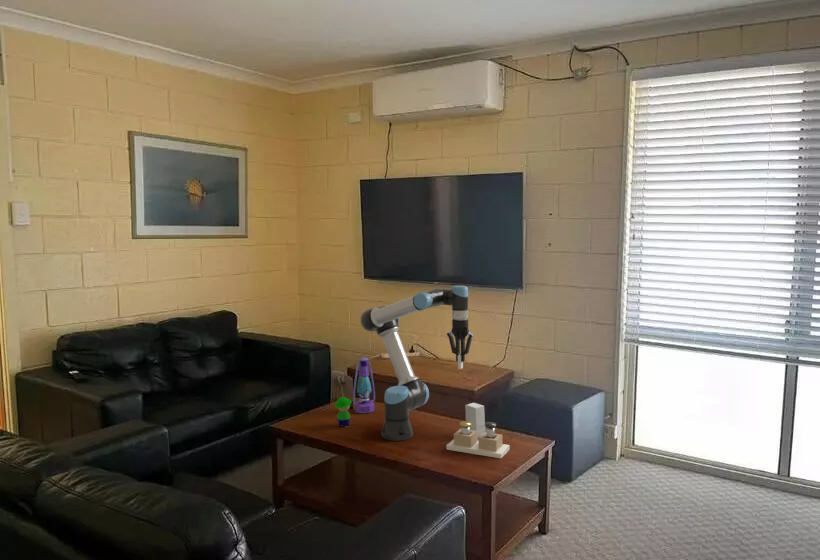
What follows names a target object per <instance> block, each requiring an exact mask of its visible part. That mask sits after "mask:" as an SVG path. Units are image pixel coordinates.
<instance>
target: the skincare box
mask: <svg viewBox="0 0 820 560" xmlns="http://www.w3.org/2000/svg"><path fill="white" fill-rule="evenodd" d="M464 406H465V410H464V411H465V421H469V422H471V426H470V430H473V431H477V439H478V438H479V437H480V436H481V435H482V434H483V433H485V432H486V427H485V423H486V420H485V415H486V414H485V405H482V404H481V403H477V402H472V403H467V404H465V405H464Z"/></svg>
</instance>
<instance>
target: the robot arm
mask: <svg viewBox="0 0 820 560" xmlns="http://www.w3.org/2000/svg"><path fill="white" fill-rule="evenodd" d="M438 306H451V318H452V320H451V331H450V332H447V333H446V336H447V337H448V340H449V345H450V349H451V353H452V354H455V361H456V362H457V370H461V369H463V368H464V363H465V361H466V360H465V359H466V357H465V356H466V355H468V354H469V352H470V348H471V343H472V339H473V338H474V335H475V334H473V333H471V332H470V330H469V319H468V318H469V287H467V286H466V285H453V286H451V289H445V288H432V289H431V290H430V291H429V290H428V291H421V292H419V293H417V294H416V295H412V296H410V297H407V298H404V299H401V300H399V301H396V302H394V303H391V304H388V305H382V306H378V307H373V308H372V307H371V308H368V309H366V310H364V311H363V312H362V314H361V316H360V320H359V321H360V322H359V323H360V325H361V327H362V328H363V330H366V331H367V332H371V333H372V332H373V333H374V332H375V333H376V334H377V336H378V337H379V338H381V339H382V341H383V343H384V346H385V349H386V352H387V355H388V357H389V359H390V360H389V361H390V362H391V364H392V366H393V370H394V372H395V376H396V378H397V380H398V384H397V385H393V386H390V387H388V388H386V390H385V391H384V397H383V399H384V423H383V426H382V429H381V438H383V439H384V440H387V441H392V442H393V441H394V442H395V441H396V442H400V441H401V442H402V441H405V440H409V439H411V438H413V436H414V431H413V428H412V425H411V422H410V414H409V413H410V411H412V410H414V409H417V408H420V407H422V406H423V405H425V404H427V402H428V400H429V398H430V390H429V388H428V386H427V384H426V383H424V382H422V381H421V380H420V377H419V376H416V375H415V372H414V370H413V368H412V365H411V362H410V359H409V357H408V355H407V352H406V349H405V347H404V344H403V342H402V339H401V336H400V334H399V330H400V327H399V323H400V319H401V318H403V317H405V316H409V315H412V314H416V313H417V312H421V311H424V310H427V309H430V308H433V307H438ZM466 337H467V340H466Z"/></svg>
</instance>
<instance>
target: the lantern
mask: <svg viewBox="0 0 820 560" xmlns="http://www.w3.org/2000/svg"><path fill="white" fill-rule="evenodd" d="M358 361H360V362H358V363H356V367H355V374H354V381H353V383H354V384H353V391H352V395H353V396H352V401H353V408H354V412H355V413H358V414H370V413H372V412H375V409H376V408H375V406H376V405H375V403H374V402H375V400H376V390H375V389H376V388H375V384H374V377H373V368H372V364H371V363H372V362H370V361H369V358H367V357H365V356H363V357H361V358H358ZM358 370H359V371H358ZM358 376H359V377H358ZM369 376H370V377H369ZM357 378H358V380H357ZM370 379H371V381H370ZM371 384H372V385H371ZM356 393H357V394H358V401H356ZM371 393H372V399H370V395H371Z"/></svg>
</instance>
